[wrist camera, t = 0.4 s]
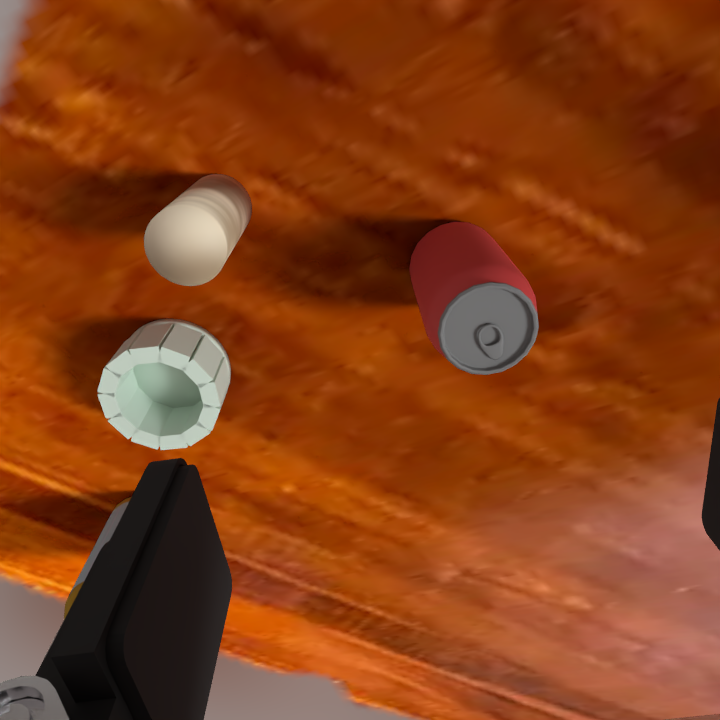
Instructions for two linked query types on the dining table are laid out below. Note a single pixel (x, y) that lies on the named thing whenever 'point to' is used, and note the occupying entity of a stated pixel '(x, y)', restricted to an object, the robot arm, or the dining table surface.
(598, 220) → the dining table surface
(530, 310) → the beer can
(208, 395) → the cup
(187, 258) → the plug
